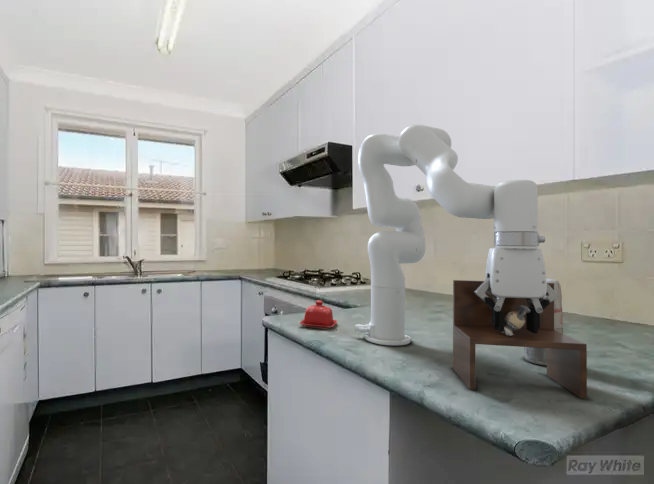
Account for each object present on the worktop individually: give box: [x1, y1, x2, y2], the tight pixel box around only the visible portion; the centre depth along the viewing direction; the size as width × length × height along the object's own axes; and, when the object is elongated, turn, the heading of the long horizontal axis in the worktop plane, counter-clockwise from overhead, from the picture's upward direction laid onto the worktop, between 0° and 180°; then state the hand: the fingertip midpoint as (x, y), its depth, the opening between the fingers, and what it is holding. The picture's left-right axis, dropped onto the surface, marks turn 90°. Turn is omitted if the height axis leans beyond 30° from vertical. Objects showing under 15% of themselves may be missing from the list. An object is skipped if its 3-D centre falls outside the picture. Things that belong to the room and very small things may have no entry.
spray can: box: [523, 278, 564, 366], centre depth 90 cm, size 8×8×20 cm
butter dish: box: [299, 299, 338, 330], centre depth 125 cm, size 12×12×8 cm
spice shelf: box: [452, 279, 588, 399], centre depth 76 cm, size 20×12×20 cm, turn 79°
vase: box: [497, 305, 531, 336], centre depth 75 cm, size 5×5×6 cm
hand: (515, 330), depth 75 cm, fingers closed on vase, 5 cm apart
